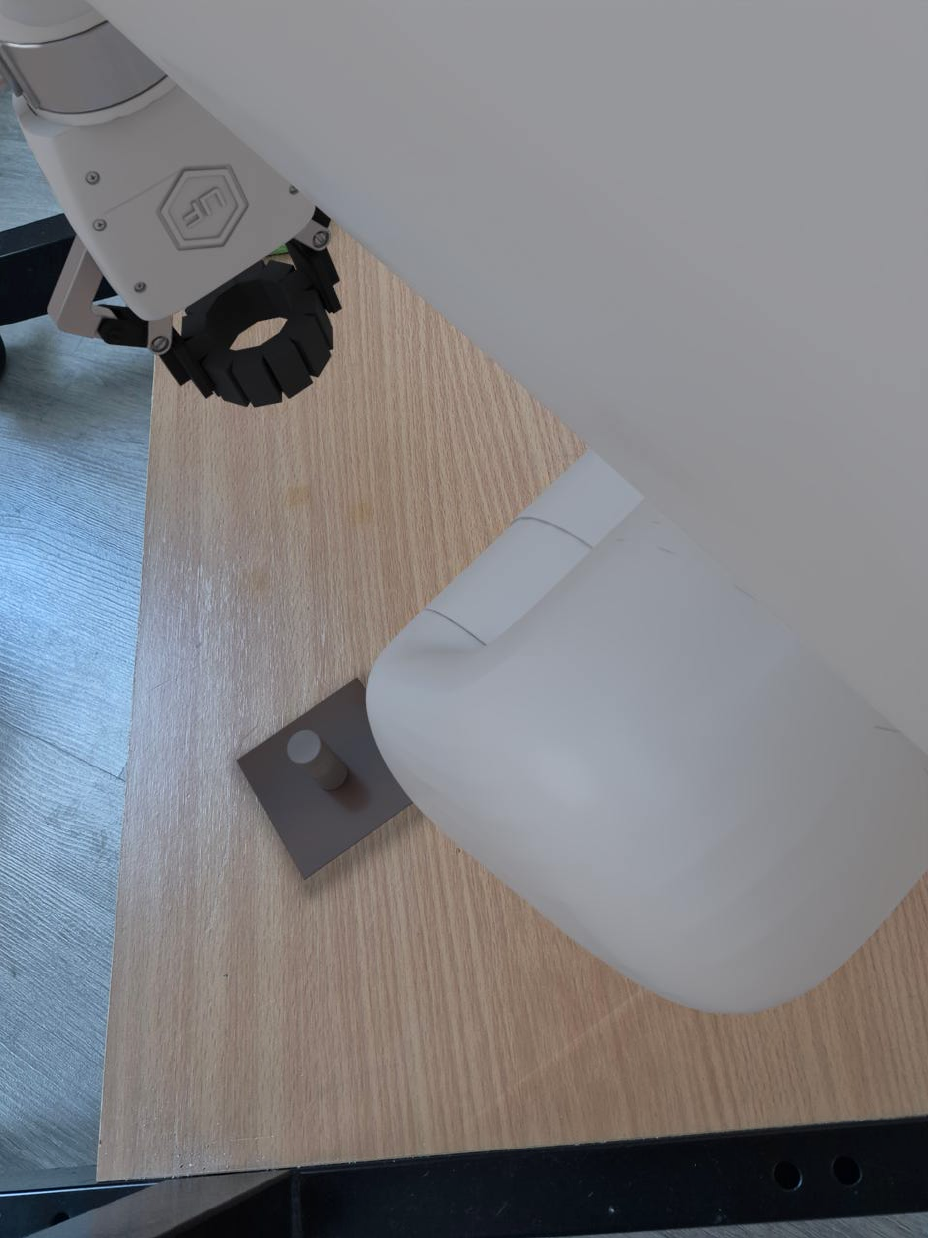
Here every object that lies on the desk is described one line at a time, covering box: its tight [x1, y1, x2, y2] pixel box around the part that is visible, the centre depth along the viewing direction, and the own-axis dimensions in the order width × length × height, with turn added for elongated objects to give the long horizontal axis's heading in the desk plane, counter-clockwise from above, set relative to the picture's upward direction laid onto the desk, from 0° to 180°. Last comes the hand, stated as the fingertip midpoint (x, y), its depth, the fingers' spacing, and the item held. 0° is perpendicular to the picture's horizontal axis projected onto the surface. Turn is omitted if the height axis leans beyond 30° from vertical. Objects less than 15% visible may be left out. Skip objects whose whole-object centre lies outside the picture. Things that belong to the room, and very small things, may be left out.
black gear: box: [180, 259, 334, 409], centre depth 54 cm, size 7×7×3 cm
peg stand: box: [236, 677, 414, 880], centre depth 59 cm, size 9×9×6 cm
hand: (261, 337), depth 54 cm, fingers closed on black gear, 7 cm apart
